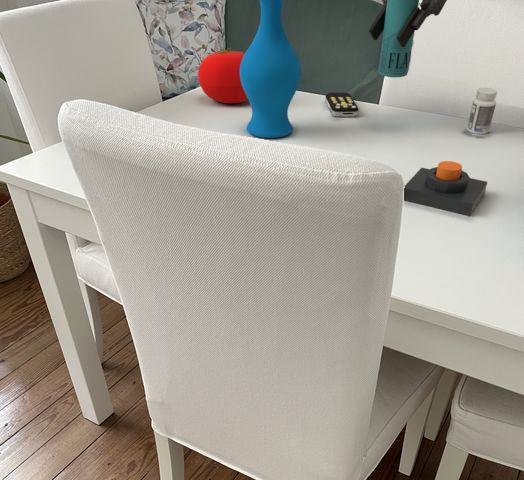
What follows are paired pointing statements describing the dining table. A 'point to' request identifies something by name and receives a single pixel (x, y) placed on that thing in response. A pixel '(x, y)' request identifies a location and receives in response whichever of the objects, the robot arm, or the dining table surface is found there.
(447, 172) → the button
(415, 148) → the dining table surface
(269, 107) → the vase
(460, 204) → the dark grey mounting base
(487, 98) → the pill bottle
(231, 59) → the tomato
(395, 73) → the beverage bottle
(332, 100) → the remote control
